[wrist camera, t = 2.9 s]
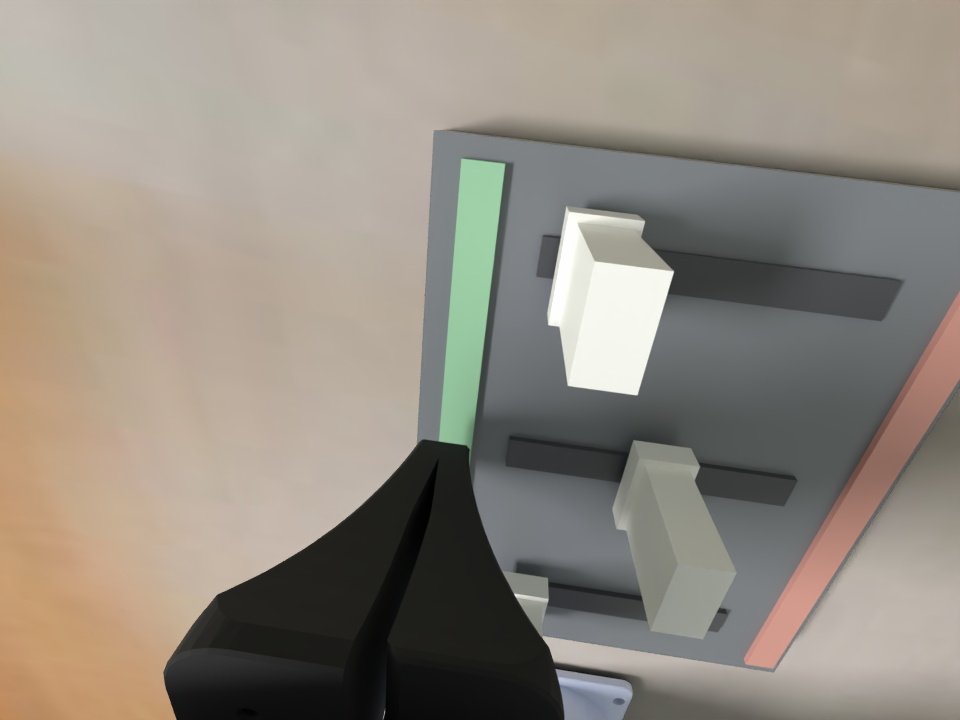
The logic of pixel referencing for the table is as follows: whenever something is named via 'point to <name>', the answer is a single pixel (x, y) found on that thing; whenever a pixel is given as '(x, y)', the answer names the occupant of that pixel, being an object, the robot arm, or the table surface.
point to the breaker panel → (689, 371)
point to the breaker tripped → (672, 539)
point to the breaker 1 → (530, 595)
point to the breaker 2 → (606, 299)
